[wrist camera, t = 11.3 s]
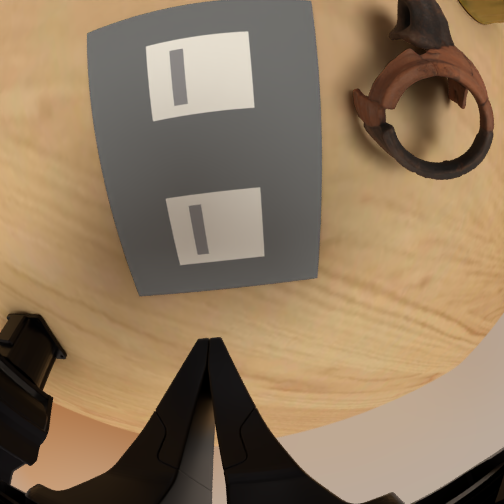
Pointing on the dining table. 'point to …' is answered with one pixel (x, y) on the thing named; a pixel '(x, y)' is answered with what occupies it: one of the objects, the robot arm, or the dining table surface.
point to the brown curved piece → (417, 68)
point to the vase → (485, 10)
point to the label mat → (211, 143)
